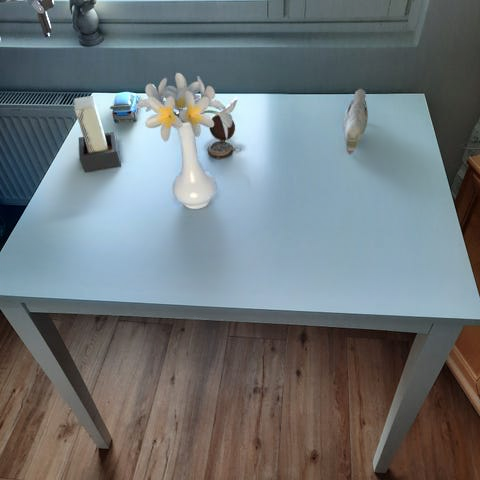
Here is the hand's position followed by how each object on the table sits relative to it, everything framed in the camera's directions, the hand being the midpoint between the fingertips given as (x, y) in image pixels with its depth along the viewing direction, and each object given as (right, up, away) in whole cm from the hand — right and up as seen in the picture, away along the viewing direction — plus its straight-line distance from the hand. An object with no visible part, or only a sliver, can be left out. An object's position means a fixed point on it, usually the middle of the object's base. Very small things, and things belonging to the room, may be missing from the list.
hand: (23, 38), depth 84 cm
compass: (+35, -10, +28) cm, 46 cm away
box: (+6, -11, +27) cm, 30 cm away
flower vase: (+30, -24, +17) cm, 43 cm away
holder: (+6, -12, +28) cm, 31 cm away
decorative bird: (+66, -6, +29) cm, 73 cm away
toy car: (+9, +3, +40) cm, 41 cm away
